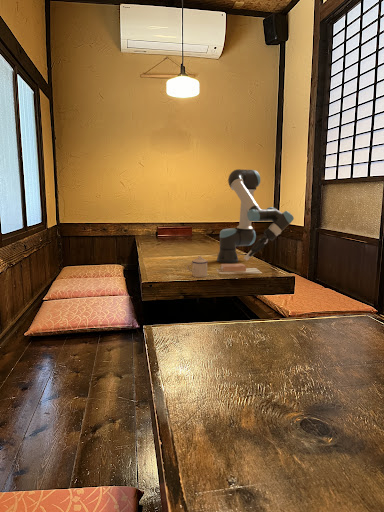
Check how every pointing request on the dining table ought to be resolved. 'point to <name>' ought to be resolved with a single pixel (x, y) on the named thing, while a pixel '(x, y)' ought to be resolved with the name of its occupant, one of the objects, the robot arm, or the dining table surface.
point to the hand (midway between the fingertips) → (245, 259)
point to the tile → (233, 267)
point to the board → (248, 270)
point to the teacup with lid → (199, 267)
